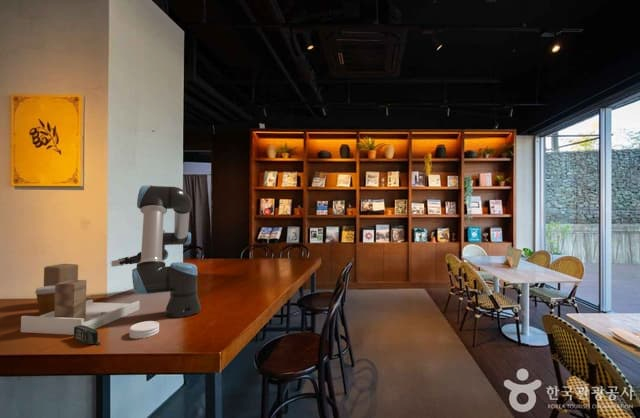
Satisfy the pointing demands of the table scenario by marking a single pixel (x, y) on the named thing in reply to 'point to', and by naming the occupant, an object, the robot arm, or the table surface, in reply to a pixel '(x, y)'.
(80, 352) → the table surface
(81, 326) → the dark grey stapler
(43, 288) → the disposable coffee cup
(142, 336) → the coaster
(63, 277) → the wooden block
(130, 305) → the board
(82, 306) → the walnut block
